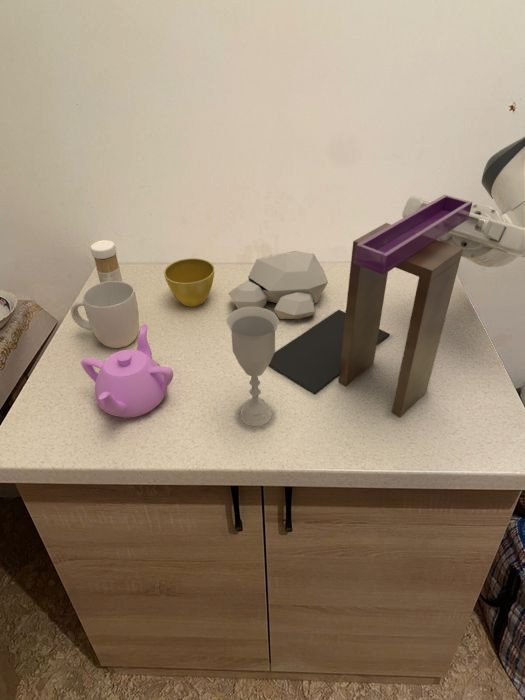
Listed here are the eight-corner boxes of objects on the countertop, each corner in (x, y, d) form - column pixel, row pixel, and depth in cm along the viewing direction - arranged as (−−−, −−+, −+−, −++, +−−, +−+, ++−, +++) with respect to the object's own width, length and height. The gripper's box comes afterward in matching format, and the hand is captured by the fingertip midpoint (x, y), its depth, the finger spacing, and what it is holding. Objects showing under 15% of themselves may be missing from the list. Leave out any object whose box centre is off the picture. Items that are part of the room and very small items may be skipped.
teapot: (153, 362, 90) (145, 322, 84) (184, 410, 80) (177, 368, 75) (87, 386, 85) (74, 344, 80) (111, 439, 76) (98, 397, 70)
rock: (326, 327, 97) (329, 284, 91) (224, 321, 99) (220, 279, 93) (327, 279, 111) (330, 239, 105) (238, 275, 113) (235, 235, 107)
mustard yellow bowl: (162, 311, 102) (157, 281, 98) (176, 286, 110) (172, 256, 106) (210, 315, 101) (207, 284, 97) (221, 289, 109) (218, 259, 104)
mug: (149, 326, 98) (141, 282, 92) (133, 354, 91) (123, 309, 85) (88, 321, 100) (76, 277, 94) (68, 349, 93) (53, 303, 87)
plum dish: (440, 211, 76) (444, 194, 74) (468, 219, 73) (472, 202, 72) (353, 263, 64) (355, 244, 62) (383, 275, 61) (386, 256, 60)
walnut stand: (366, 360, 89) (386, 222, 73) (426, 392, 83) (463, 248, 66) (338, 382, 85) (353, 241, 69) (400, 418, 78) (432, 270, 62)
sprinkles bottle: (121, 294, 108) (108, 237, 99) (131, 303, 105) (118, 245, 96) (101, 302, 105) (86, 244, 97) (111, 311, 103) (96, 252, 94)
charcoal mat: (338, 311, 101) (338, 309, 101) (389, 335, 95) (389, 333, 94) (262, 362, 89) (262, 360, 89) (314, 394, 83) (314, 392, 82)
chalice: (224, 414, 79) (215, 321, 68) (253, 392, 83) (250, 300, 72) (258, 438, 75) (255, 343, 64) (287, 413, 79) (289, 320, 68)
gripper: (530, 271, 80) (510, 258, 69) (415, 233, 91) (383, 217, 80) (549, 233, 78) (532, 213, 67) (430, 199, 89) (399, 178, 78)
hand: (450, 215), depth 74 cm, fingers open, 8 cm apart
